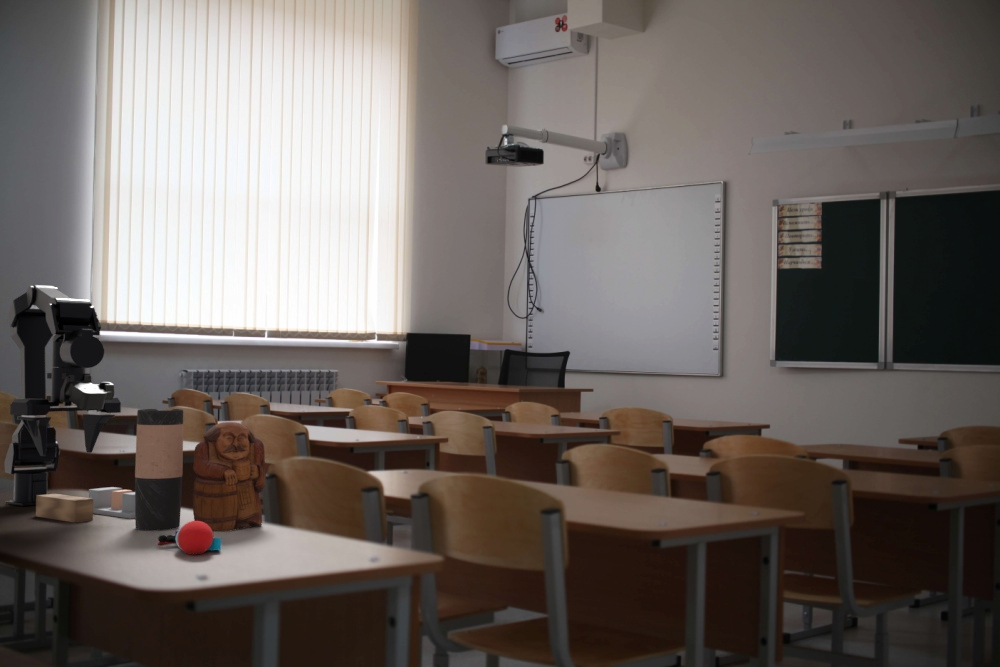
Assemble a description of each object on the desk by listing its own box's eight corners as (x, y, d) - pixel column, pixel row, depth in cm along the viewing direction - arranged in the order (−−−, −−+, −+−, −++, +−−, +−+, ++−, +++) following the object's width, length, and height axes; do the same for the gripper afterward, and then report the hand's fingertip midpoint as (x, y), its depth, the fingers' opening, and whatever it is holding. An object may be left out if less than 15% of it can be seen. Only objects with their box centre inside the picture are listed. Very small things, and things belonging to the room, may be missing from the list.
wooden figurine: (207, 533, 162) (210, 423, 163) (188, 529, 166) (191, 422, 167) (270, 526, 170) (272, 421, 171) (250, 522, 175) (252, 420, 176)
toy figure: (152, 555, 152) (176, 554, 139) (154, 523, 153) (178, 519, 141) (201, 555, 156) (229, 554, 143) (203, 523, 157) (231, 519, 144)
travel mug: (150, 532, 163) (153, 410, 163) (124, 527, 167) (127, 409, 168) (190, 527, 169) (193, 409, 170) (164, 522, 173) (166, 408, 174)
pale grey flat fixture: (76, 510, 186) (77, 489, 186) (117, 505, 194) (118, 485, 194) (130, 518, 177) (131, 496, 178) (171, 512, 185) (172, 491, 185)
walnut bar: (35, 517, 179) (36, 495, 179) (53, 515, 182) (54, 493, 182) (74, 523, 173) (75, 500, 173) (92, 521, 176) (93, 498, 176)
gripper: (47, 367, 166) (45, 460, 166) (141, 368, 182) (139, 453, 181) (9, 367, 172) (7, 456, 172) (103, 367, 188) (101, 450, 187)
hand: (66, 454), depth 178 cm, fingers open, 9 cm apart
